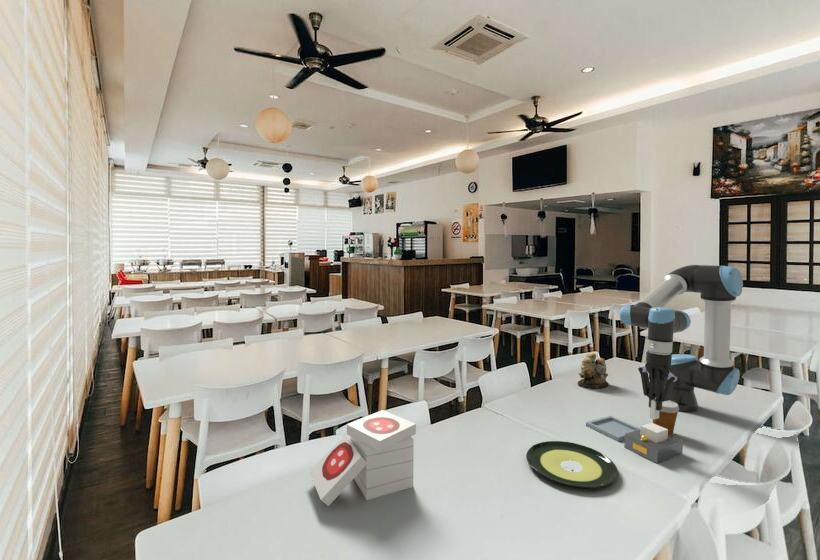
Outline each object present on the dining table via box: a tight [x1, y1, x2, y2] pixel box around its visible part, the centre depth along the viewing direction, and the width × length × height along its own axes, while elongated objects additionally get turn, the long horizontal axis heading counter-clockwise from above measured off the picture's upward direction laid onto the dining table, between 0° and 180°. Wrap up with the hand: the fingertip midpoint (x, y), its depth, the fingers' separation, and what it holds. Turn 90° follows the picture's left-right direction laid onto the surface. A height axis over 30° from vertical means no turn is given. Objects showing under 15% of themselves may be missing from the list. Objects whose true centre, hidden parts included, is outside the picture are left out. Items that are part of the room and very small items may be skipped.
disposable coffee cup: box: [652, 400, 679, 436], centre depth 156 cm, size 10×10×12 cm
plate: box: [525, 440, 619, 489], centre depth 132 cm, size 28×28×2 cm
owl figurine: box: [577, 352, 610, 390], centre depth 209 cm, size 18×12×17 cm, turn 114°
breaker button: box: [640, 422, 668, 443], centre depth 143 cm, size 6×6×6 cm
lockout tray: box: [585, 415, 641, 442], centre depth 159 cm, size 14×14×2 cm
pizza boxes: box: [308, 409, 417, 507], centre depth 121 cm, size 19×30×18 cm, turn 116°
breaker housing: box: [623, 430, 684, 464], centre depth 143 cm, size 14×12×7 cm
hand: (654, 417), depth 142 cm, fingers closed
